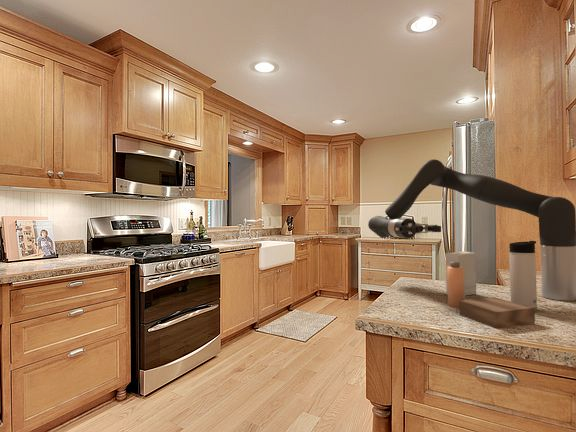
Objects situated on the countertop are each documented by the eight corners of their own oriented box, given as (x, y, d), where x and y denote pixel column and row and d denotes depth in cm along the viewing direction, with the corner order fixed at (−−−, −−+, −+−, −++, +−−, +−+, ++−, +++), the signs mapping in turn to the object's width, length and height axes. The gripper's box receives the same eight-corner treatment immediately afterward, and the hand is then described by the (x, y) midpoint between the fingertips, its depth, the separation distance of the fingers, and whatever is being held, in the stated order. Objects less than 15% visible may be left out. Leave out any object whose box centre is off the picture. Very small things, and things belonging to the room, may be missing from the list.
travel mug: (543, 312, 92) (541, 241, 92) (517, 311, 93) (515, 241, 93) (531, 306, 98) (529, 240, 98) (507, 305, 99) (505, 240, 100)
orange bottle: (456, 303, 103) (455, 260, 103) (468, 307, 99) (466, 262, 99) (444, 304, 102) (443, 261, 102) (455, 308, 98) (454, 263, 98)
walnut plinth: (494, 310, 94) (493, 297, 94) (534, 323, 82) (534, 307, 83) (459, 314, 91) (459, 300, 91) (496, 328, 80) (496, 312, 80)
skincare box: (463, 291, 119) (462, 250, 120) (477, 294, 114) (476, 252, 114) (445, 293, 117) (444, 252, 117) (459, 297, 111) (458, 253, 111)
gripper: (385, 218, 125) (411, 218, 110) (417, 218, 129) (447, 218, 113) (385, 238, 125) (411, 240, 110) (417, 237, 129) (447, 239, 113)
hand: (429, 229), depth 111 cm, fingers open, 8 cm apart
